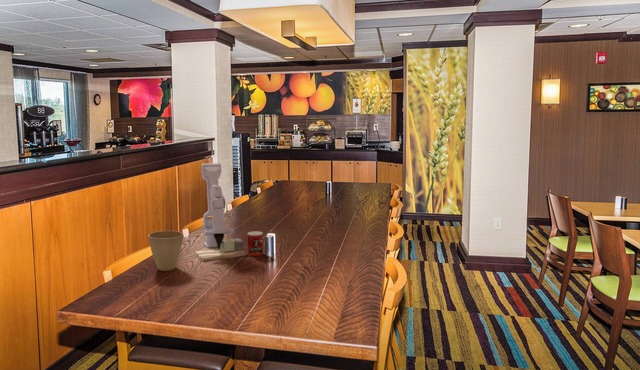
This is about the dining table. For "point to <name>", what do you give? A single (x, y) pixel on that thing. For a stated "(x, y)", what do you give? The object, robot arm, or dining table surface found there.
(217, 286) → the dining table surface
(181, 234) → the plant pot
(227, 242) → the pale green cube
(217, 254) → the stud board
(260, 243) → the canned food
